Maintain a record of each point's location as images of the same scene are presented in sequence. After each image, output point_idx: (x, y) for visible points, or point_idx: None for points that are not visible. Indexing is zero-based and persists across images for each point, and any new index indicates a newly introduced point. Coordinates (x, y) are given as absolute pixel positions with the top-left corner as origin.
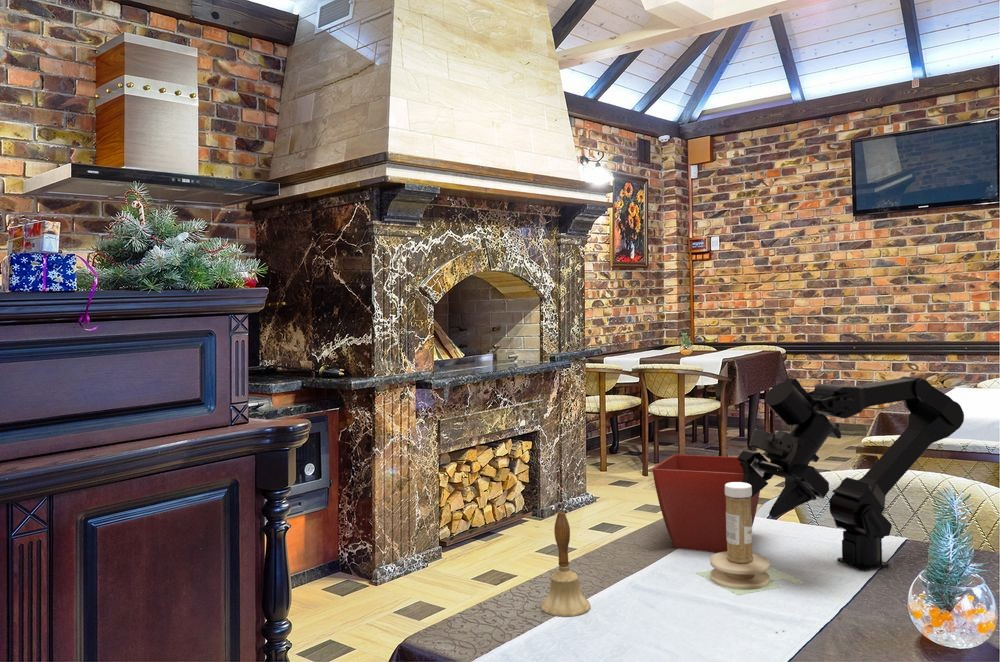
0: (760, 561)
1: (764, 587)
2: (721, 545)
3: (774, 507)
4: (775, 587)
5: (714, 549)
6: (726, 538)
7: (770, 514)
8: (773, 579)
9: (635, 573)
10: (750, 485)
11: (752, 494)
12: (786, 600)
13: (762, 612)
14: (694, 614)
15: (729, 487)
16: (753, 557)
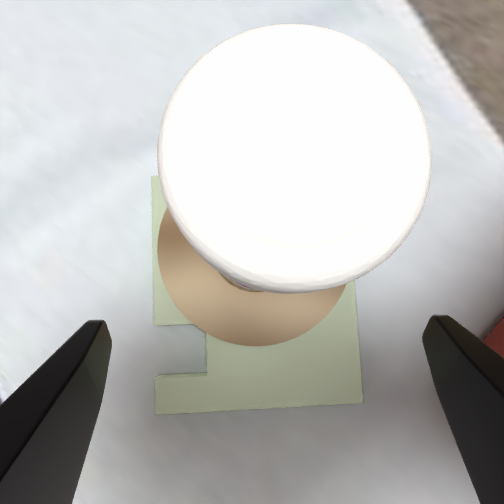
0: (215, 303)
1: None
2: (492, 343)
3: (55, 352)
4: (156, 305)
5: (499, 327)
6: None
7: (89, 320)
8: (212, 342)
9: (435, 52)
10: (210, 247)
11: (473, 462)
12: (106, 299)
13: (67, 191)
14: (128, 39)
15: (261, 27)
16: (260, 306)
